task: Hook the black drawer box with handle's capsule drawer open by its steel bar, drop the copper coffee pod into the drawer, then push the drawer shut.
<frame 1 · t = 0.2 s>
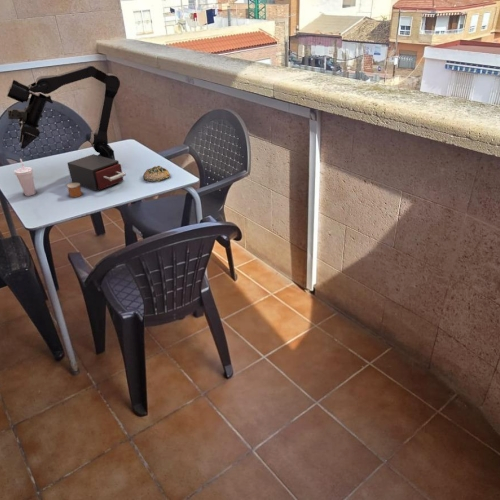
hand: (21, 145, 170), 15 cm above the table, tool tilted 30°, fingers open, 9 cm apart
bread roll: (156, 177, 179), on the table
coffee pod: (75, 194, 164), on the table
drawer box with handle: (97, 182, 175), on the table
smoothie: (30, 194, 166), on the table
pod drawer: (102, 174, 171), point 4 cm above the table, slide at 0.6 cm
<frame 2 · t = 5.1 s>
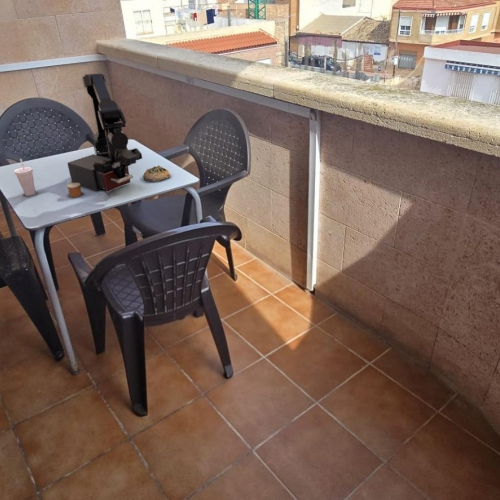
hand: (122, 181, 165), 4 cm above the table, tool pointing down, fingers closed, pressing on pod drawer
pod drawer: (109, 176, 169), point 4 cm above the table, slide at 4.9 cm, touching gripper
everything else where it was.
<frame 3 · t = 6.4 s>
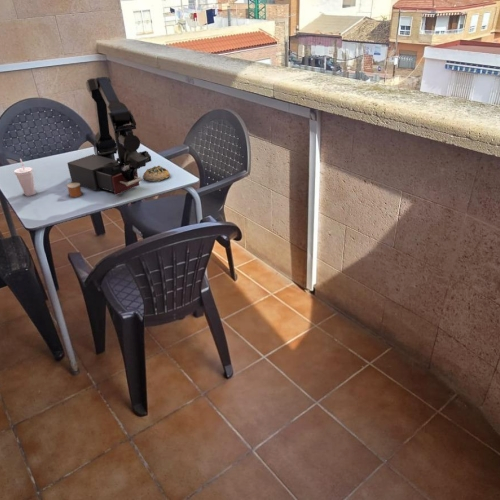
hand: (131, 184, 163), 3 cm above the table, tool pointing down, fingers closed, pressing on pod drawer
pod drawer: (118, 178, 166), point 4 cm above the table, slide at 9.9 cm, touching gripper
everything else where it was.
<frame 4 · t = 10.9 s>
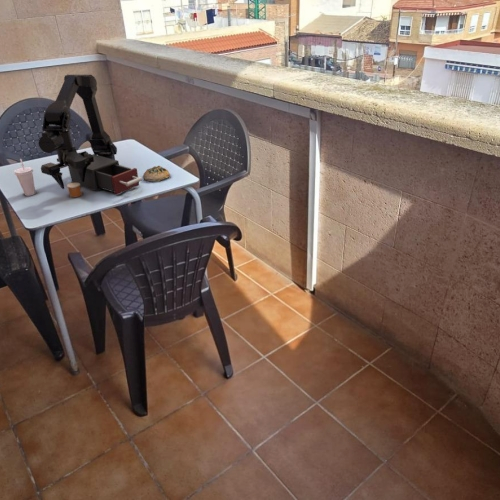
hand: (73, 185, 162), 4 cm above the table, tool pointing down, fingers open, 8 cm apart
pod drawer: (118, 178, 166), point 4 cm above the table, slide at 9.9 cm
everything else where it was.
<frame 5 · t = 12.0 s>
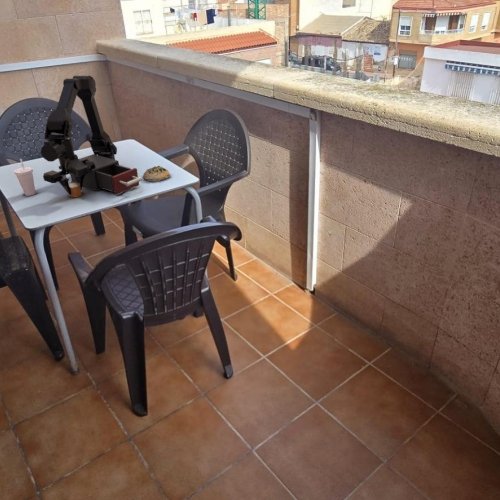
hand: (75, 192, 164), 1 cm above the table, tool pointing down, fingers closed on coffee pod, 4 cm apart
coffee pod: (75, 194, 164), on the table, touching gripper
everything else where it was.
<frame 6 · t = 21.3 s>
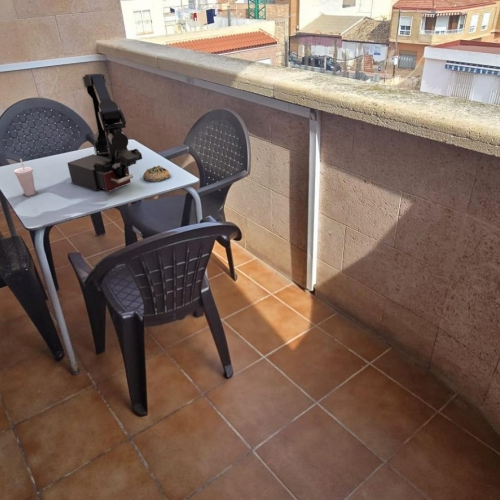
hand: (122, 182, 166), 3 cm above the table, tool pointing down, fingers closed, pressing on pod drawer
coffee pod: (106, 180, 171), point 2 cm above the table, touching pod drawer
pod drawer: (110, 176, 169), point 4 cm above the table, slide at 5.0 cm, touching coffee pod, gripper
everything else where it was.
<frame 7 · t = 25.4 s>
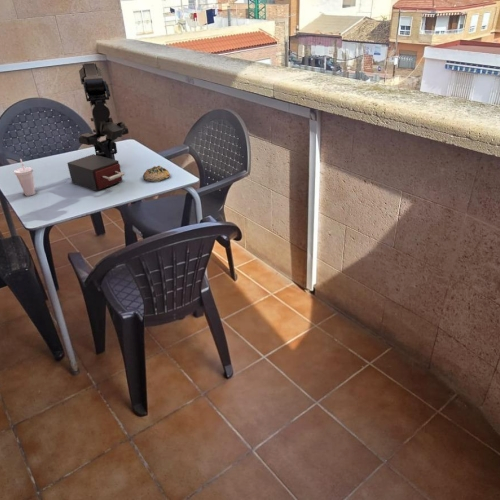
hand: (108, 156, 164), 12 cm above the table, tool pointing down, fingers closed
coffee pod: (98, 178, 173), point 2 cm above the table, touching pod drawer
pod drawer: (101, 174, 171), point 4 cm above the table, slide at 0.0 cm, touching drawer box with handle, coffee pod
everything else where it was.
at the end: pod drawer pulled out 9.9 cm at the most during the clip, back to where it started at the end; coffee pod inside the target area in the drawer box with handle (1.7 cm from its centre), point 2.0 cm above the drawer box with handle's base; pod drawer slide at 0.0 cm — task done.
